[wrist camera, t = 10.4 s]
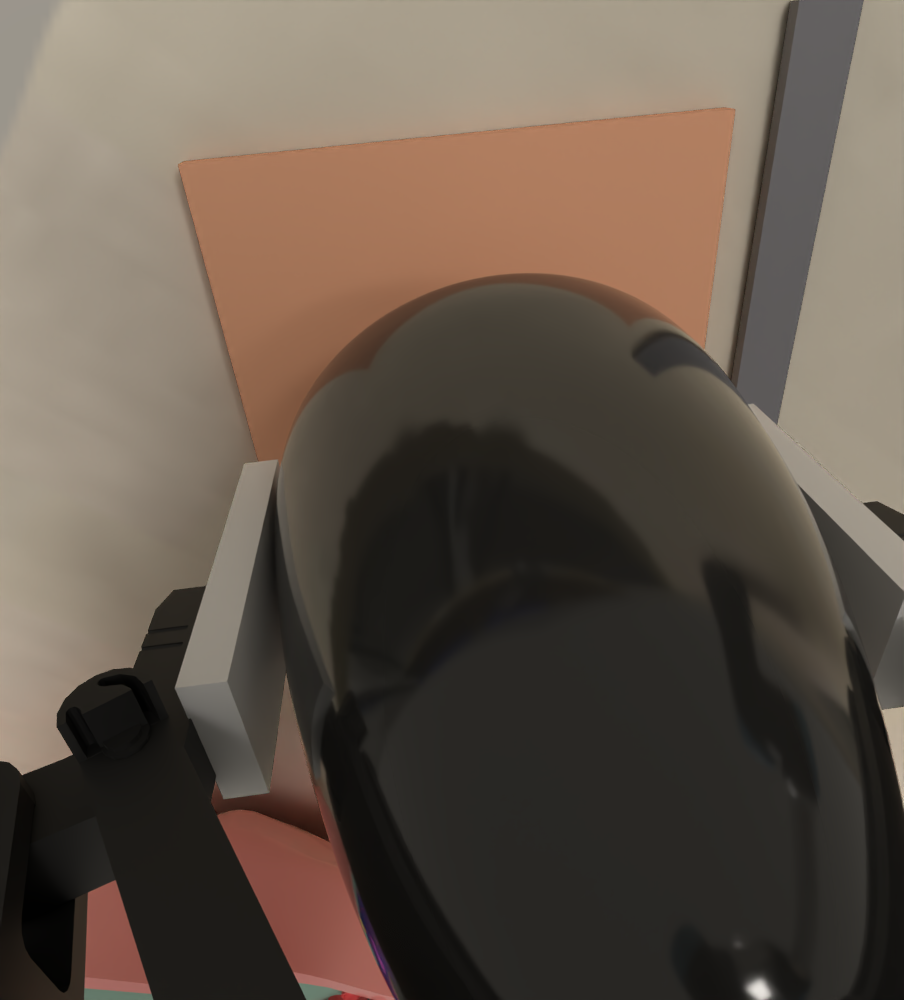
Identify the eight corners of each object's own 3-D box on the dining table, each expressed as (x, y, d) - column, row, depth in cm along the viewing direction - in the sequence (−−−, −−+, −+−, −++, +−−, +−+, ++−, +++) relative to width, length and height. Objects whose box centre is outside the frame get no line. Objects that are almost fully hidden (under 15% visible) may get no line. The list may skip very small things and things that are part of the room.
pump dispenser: (212, 455, 18) (-152, 1378, 6) (483, 126, 15) (1226, 595, 2) (485, 628, 23) (632, 1363, 10) (745, 407, 19) (1496, 1116, 6)
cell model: (366, 970, 39) (365, 1265, 29) (-26, 917, 32) (-192, 1278, 23) (522, 798, 31) (589, 1119, 22) (56, 682, 25) (-139, 1072, 15)
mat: (724, 107, 17) (735, 109, 16) (669, 560, 24) (675, 570, 24) (183, 161, 16) (177, 164, 16) (302, 606, 24) (300, 618, 23)
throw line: (854, -5, 16) (864, -7, 15) (736, 593, 26) (741, 600, 25) (790, 1, 16) (799, -1, 15) (697, 598, 25) (701, 605, 25)
